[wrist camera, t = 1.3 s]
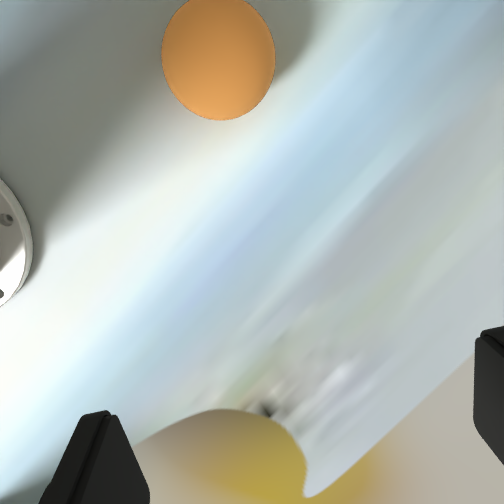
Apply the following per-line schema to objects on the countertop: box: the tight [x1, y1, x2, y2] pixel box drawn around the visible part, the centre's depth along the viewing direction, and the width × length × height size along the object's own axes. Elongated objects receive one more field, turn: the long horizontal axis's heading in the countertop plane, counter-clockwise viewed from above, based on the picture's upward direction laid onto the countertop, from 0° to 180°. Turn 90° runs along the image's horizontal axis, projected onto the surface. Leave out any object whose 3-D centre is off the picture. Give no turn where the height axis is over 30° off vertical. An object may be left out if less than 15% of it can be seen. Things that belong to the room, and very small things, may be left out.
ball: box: [161, 0, 275, 120], centre depth 20 cm, size 6×6×6 cm
